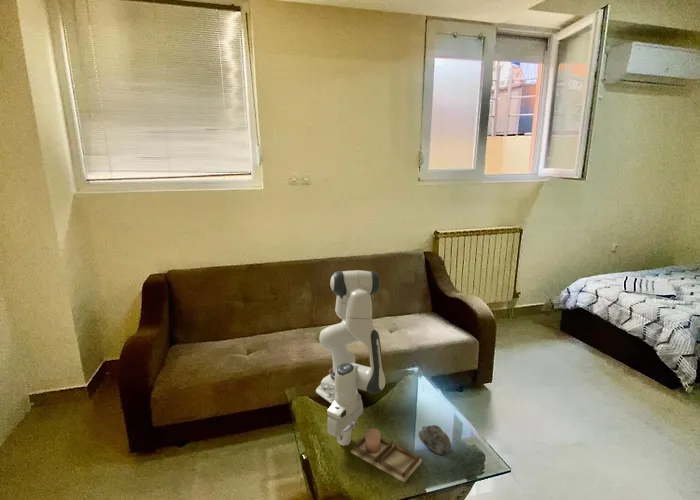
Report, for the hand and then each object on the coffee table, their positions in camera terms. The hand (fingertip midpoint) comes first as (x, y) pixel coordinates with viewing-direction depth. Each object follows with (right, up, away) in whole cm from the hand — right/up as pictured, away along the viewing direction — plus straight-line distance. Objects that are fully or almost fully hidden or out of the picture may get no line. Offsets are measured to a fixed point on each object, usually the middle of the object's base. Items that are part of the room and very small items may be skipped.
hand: (346, 433), depth 163 cm
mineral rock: (+36, -5, -1) cm, 37 cm away
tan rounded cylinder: (+11, -4, -4) cm, 12 cm away
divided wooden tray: (+16, -6, -8) cm, 18 cm away
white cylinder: (-1, -4, +1) cm, 5 cm away
